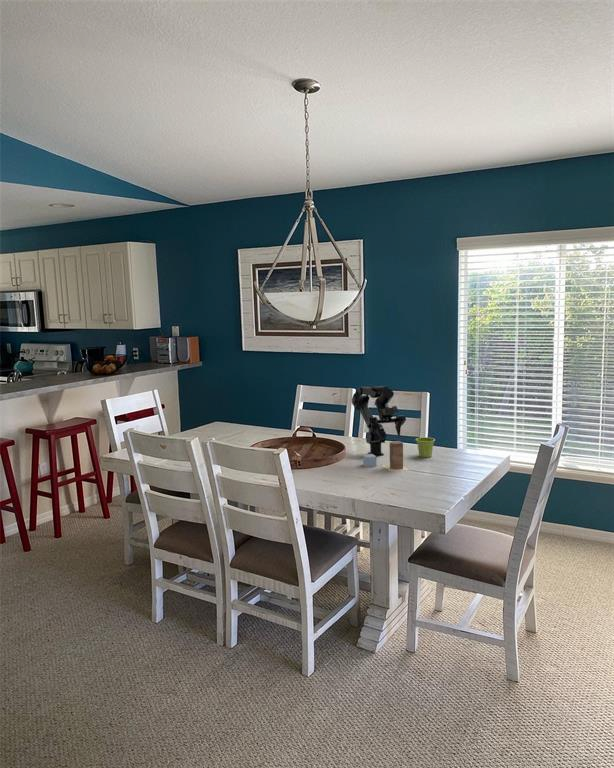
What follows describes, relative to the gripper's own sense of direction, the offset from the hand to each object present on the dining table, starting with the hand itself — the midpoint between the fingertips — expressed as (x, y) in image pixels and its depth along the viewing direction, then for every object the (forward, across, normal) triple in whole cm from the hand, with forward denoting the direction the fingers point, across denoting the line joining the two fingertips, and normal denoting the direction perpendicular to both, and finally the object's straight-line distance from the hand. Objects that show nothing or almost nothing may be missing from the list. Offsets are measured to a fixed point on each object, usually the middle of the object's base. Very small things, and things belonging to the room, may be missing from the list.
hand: (390, 436), depth 283 cm
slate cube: (+10, -10, +9) cm, 17 cm away
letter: (+14, 0, +4) cm, 15 cm away
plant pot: (+6, +22, +14) cm, 27 cm away
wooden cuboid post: (+15, 0, +3) cm, 15 cm away
